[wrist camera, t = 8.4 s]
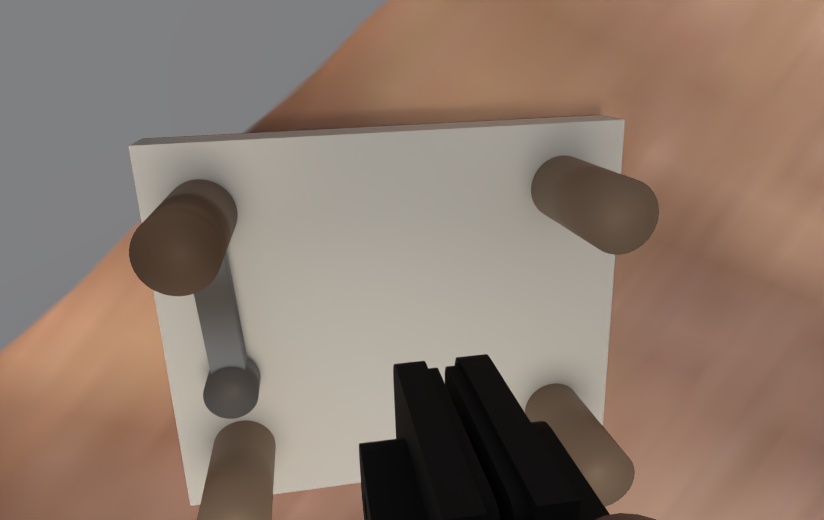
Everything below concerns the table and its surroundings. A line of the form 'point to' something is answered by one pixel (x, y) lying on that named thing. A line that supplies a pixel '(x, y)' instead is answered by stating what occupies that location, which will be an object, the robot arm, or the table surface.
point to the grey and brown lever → (201, 284)
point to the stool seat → (399, 287)
